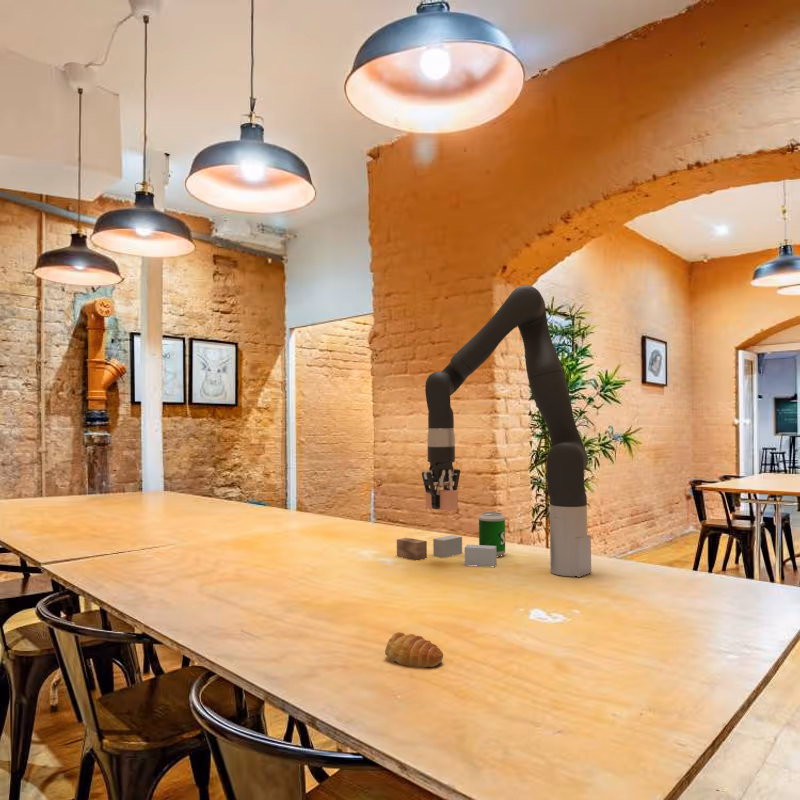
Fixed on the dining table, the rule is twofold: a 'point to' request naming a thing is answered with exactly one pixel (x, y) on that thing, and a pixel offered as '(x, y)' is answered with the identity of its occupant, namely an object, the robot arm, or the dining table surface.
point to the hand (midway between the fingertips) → (441, 507)
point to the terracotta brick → (444, 500)
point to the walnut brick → (411, 548)
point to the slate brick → (447, 546)
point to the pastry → (413, 651)
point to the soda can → (492, 531)
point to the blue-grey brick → (480, 555)
